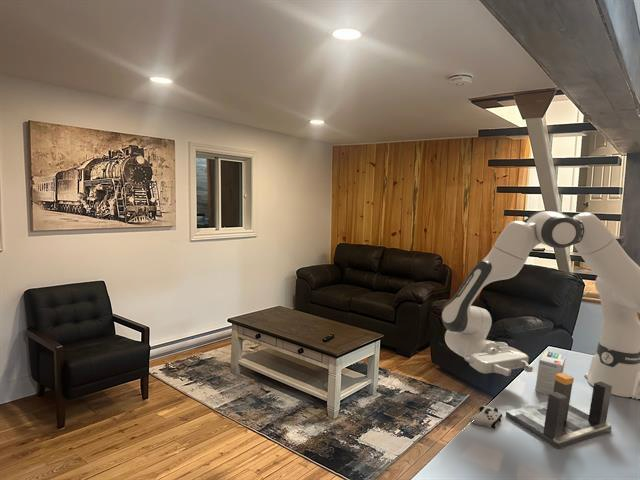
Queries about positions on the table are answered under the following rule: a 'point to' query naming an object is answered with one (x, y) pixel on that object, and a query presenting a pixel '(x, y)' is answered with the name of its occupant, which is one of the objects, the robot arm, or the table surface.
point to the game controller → (487, 417)
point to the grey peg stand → (577, 427)
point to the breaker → (564, 387)
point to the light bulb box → (549, 371)
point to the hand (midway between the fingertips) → (520, 371)
